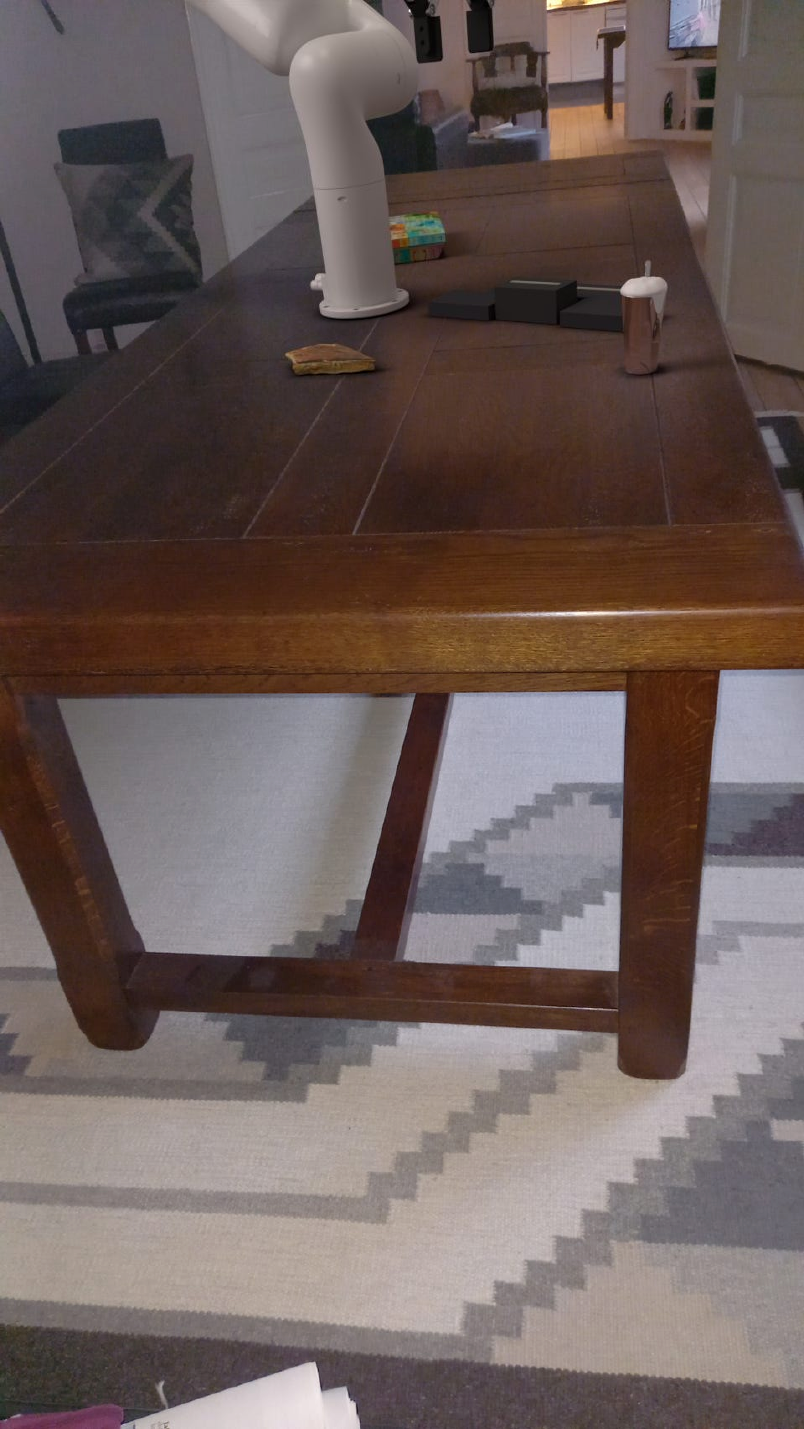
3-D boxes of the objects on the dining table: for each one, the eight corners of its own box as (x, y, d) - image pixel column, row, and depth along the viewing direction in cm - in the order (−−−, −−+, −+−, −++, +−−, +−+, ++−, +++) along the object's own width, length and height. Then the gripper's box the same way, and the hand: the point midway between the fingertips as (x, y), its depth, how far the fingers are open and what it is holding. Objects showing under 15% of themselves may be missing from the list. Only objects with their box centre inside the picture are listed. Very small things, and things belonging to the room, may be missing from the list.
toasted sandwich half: (378, 372, 112) (376, 356, 111) (318, 389, 110) (316, 373, 109) (336, 353, 120) (334, 338, 119) (280, 369, 118) (277, 354, 117)
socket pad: (428, 316, 130) (427, 300, 129) (481, 291, 138) (480, 277, 136) (631, 333, 114) (632, 316, 113) (679, 304, 121) (680, 288, 120)
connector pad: (495, 319, 125) (493, 285, 123) (516, 309, 128) (515, 275, 125) (556, 324, 120) (556, 289, 118) (577, 313, 123) (577, 278, 121)
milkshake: (667, 360, 104) (671, 259, 98) (660, 377, 100) (665, 272, 94) (623, 361, 106) (625, 261, 100) (615, 377, 102) (617, 274, 96)
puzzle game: (371, 236, 155) (370, 215, 172) (375, 267, 158) (374, 244, 174) (444, 226, 155) (437, 206, 171) (447, 258, 158) (439, 235, 174)
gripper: (462, -138, 106) (473, 51, 116) (360, -139, 96) (381, 69, 106) (520, -152, 102) (527, 46, 112) (420, -154, 92) (437, 64, 102)
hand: (456, 57), depth 109 cm, fingers open, 9 cm apart
